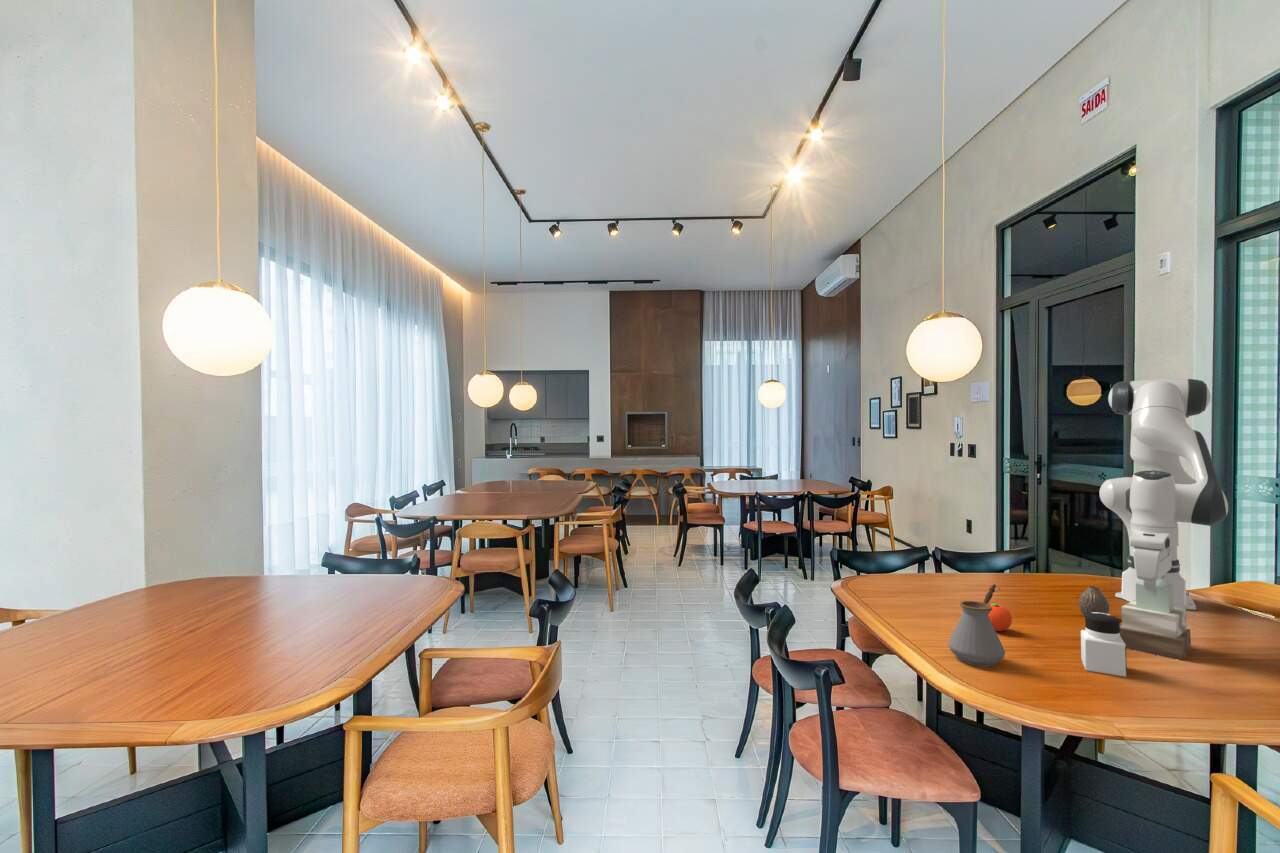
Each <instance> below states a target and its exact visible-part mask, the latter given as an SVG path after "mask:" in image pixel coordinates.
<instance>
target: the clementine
mask: <svg viewBox="0 0 1280 853" xmlns="http://www.w3.org/2000/svg"><path fill="white" fill-rule="evenodd" d="M988 605H990V606H991V607H992V610H991V611H990V613H989V614H988V616H989V618H990V620H991V623H992V625H993V627H994V629H995V631H996V632H1004V631H1006V630H1008V629H1009V628H1010V627H1011V625H1012V623H1013V617H1012V615H1011V613H1010V611H1009V610H1008V609H1007V608H1006V607H1004V606H1003V605H1001V604H997V603H988Z"/></svg>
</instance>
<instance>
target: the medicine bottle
mask: <svg viewBox="0 0 1280 853" xmlns="http://www.w3.org/2000/svg"><path fill="white" fill-rule="evenodd" d="M1084 620H1085V624H1084V628H1085V629H1081V630H1080V653H1081V654H1080V658H1081V662H1082V664H1083V665H1082V666H1083V667H1084V669H1085V671H1087V672H1093V673H1099V674H1106V675H1112V676H1116V677H1122V676H1123V677H1124V678H1125V677H1126V678H1127V674H1128V673H1127V670H1128V669H1127V667H1128V666H1127V649H1126V644H1125V643H1124V641H1123V640H1122V638H1121V637H1120V623H1121V622H1120V619H1119V618H1118V617H1116V616H1114V615H1112V614H1110V613H1108V614H1105V613H1097V612H1092V613H1088V614H1086V615H1085V616H1084ZM1123 677H1122V678H1123Z"/></svg>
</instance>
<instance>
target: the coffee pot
mask: <svg viewBox="0 0 1280 853" xmlns="http://www.w3.org/2000/svg"><path fill="white" fill-rule="evenodd" d="M996 588H998V589H999V590H995V589H996ZM988 590H989V591H987V593H986V594H985V597H984V599H983V601H982V602H980V601H974V600H973V601H972V600H971V601H970V600H964V601H960V602H959V606H961V609H962V614H961V615H960V617H959V619H958V621H957V623H956V626H955V627H954V630H953V632H952V634H951V636H950V638H949V640H948V642H947V645H948V648H949V650H950V651H951V653H952V654H953V655H954V656H956V657H957V659H958V660H959V661H961V662H963V663H965V664H968V665H972V666H977V667H994V666H996V664H997V663H999V662H1001V661H1002V660H1003V659H1004V657H1005V655H1006V651H1005V649H1004V646H1003V644H1002V642H1001V639H1000V637H999V636H998V634H997V631H995V629H994V627H993V625H992V623H991V620H990V618H989V616H988V614H989V613H990V611H991V610H992V607H991V606H990V605H988V604H990V601H991V599H992V597H993V594H994V593H995V592H996V593H997V592H1000V591H1001V588H1000V586H999V585H996V584H995V583H994V584H992V585H990V586H989V588H988Z"/></svg>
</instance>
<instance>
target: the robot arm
mask: <svg viewBox="0 0 1280 853" xmlns="http://www.w3.org/2000/svg"><path fill="white" fill-rule="evenodd" d="M1211 397H1212V396H1211V392H1210V389H1209V387H1208V386H1207V383H1206V382H1204V381H1203V380H1199V379H1193V378H1188V379H1179V378H1158V379H1157V378H1155V379H1153V378H1152V379H1139V380H1131V381H1130V380H1123V381H1118V382H1116V383H1115V384H1113V385H1112V388H1111V389H1110V391H1109V393H1108V397H1107V400H1108V404H1109V407H1110V408H1111V411H1112V412H1114V413H1115V414H1117V415H1120V416H1121V415H1122V416H1131V420H1130V422H1131V428H1130V429H1131V430H1130V446H1129V449H1130V450H1129V451H1130V452H1129V455H1130V457H1131V460H1132V461H1134V462H1135V463H1136V464H1138V465H1140V466H1142V467H1144V468H1147V469H1148V470H1143V471H1142V470H1140V471H1137V472H1134V473H1133V475H1132V477H1131V476H1129V477H1128V476H1124V477H1116V478H1109V479H1106V480H1105V481H1103V483H1102V484H1101V486H1100V488H1099V499H1100V501H1101V502H1102V504H1103V505H1104V506H1105V507H1106V508H1108V509H1109V510H1111V511H1112V512H1113V513H1115V514H1116V515H1117V516H1118V518H1120V519H1121V521H1122V522H1123V524H1124V526H1125V528H1126V530H1127V535H1128V536H1127V537H1128V546H1129V553H1128V555H1127V565H1128V568H1127V569H1125V570H1124V571H1122V574H1121V591H1119V592H1116V593H1115V597H1116V598H1120V599H1123V600H1125V601H1126V602H1128V603H1129V602H1131V601H1133V600H1136V583H1137V582H1138V581H1140V580H1144V586H1145V589H1146V596H1148V597H1153V598H1154V597H1156V595H1157V589H1156V582H1161V583H1168V584H1173V596H1174V607H1175V608H1181V609H1186V610H1192V611H1193V610H1197V606H1196V604H1195V602H1194V600H1193V597H1192V596H1190V592H1189V591H1187V587H1186V586H1187V583H1186V580H1185V579H1184V577H1182V575H1181V573H1180V571H1181V563H1180V560H1179V559H1178V547H1179V524H1178V523H1187V524H1189V523H1190V524H1194V525H1201V526H1208V527H1211V526H1214V525H1216V524H1218V523H1220V522H1222V521H1224V520H1225V519H1226V518H1227V515H1228V514H1229V513H1228V512H1229V502H1228V499H1227V497H1226V494H1225V493H1224V491H1223V490H1222V488H1221V484H1220V482H1219V478H1218V475H1217V473H1216V469H1215V466H1214V463H1213V459H1212V456H1211V452H1210V450H1209V447H1208V444H1207V441H1206V439H1205V437H1204V436H1203V434H1202V432H1200V431H1198V430H1196V429H1193V428H1192V427H1191V426H1190V425H1189V424H1188V423H1187V421H1186V420H1187V418H1190V417H1192V416H1196V415H1197V416H1198V415H1200V414H1202V413H1203V412H1205V411H1206V409H1207V408H1208V405H1209V404H1210V402H1211ZM1180 457H1182V458H1184V459H1185V460H1187V461H1188V462H1189V464H1190V465H1191V469H1192V472H1193V476H1194V478H1193V477H1192V476H1191V475H1189V474H1188V473H1187V471H1186V470H1185V469H1184V468H1183V465H1182V463H1181V459H1180ZM1149 469H1150V470H1149Z"/></svg>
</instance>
